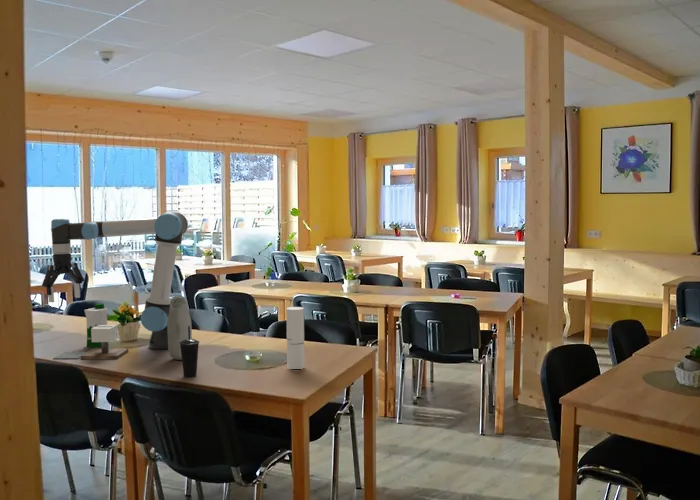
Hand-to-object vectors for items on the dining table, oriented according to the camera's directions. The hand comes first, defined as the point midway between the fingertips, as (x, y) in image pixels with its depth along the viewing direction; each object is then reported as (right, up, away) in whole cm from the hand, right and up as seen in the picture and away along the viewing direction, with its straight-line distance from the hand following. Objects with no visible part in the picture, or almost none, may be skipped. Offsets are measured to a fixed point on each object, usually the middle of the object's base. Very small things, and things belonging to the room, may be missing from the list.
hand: (64, 299), depth 288 cm
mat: (+4, -25, -2) cm, 25 cm away
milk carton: (+8, -24, +18) cm, 31 cm away
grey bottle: (+55, -26, -9) cm, 61 cm away
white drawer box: (+19, -18, -2) cm, 26 cm away
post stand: (+19, -25, -1) cm, 31 cm away
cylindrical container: (+107, -27, -25) cm, 113 cm away
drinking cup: (+66, -28, -36) cm, 80 cm away
